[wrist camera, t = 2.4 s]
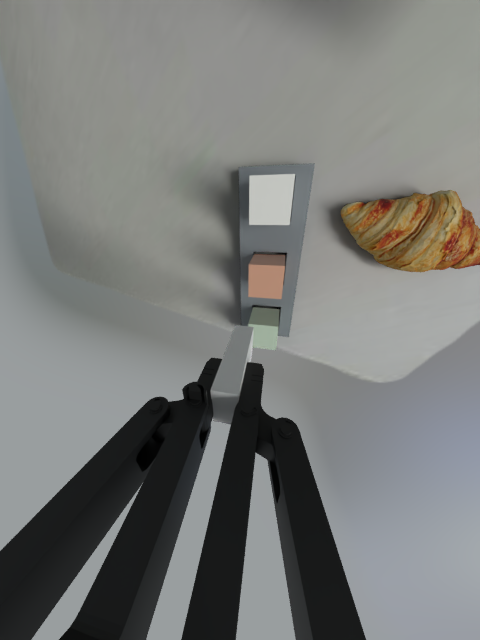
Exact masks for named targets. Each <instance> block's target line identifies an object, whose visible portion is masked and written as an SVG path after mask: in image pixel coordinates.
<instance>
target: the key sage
mask: <svg viewBox="0 0 480 640" xmlns="http://www.w3.org/2000/svg"><path fill="white" fill-rule="evenodd" d="M248 326H249V327H254V329H253V348H262V349H271V350H276V345H277V336H278V326H279V309H271V308H258V307H253V309H252V313H251V316H250V320H249V323H248Z"/></svg>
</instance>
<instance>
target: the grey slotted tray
mask: <svg viewBox="0 0 480 640" xmlns="http://www.w3.org/2000/svg"><path fill="white" fill-rule="evenodd" d="M314 165H315V163H312V164H291V165H269V166H248V167H239V218H240V283H241V326H248V323H249V320H250V316H251V313H252V309H253V306H254V305H261V306H274V307H281V310H280V319H279V326H278V336H285V337H289V332H290V326H291V319H292V312H293V306H294V299H295V292H296V286H297V279H298V272H299V266H300V259H301V252H302V246H303V239H304V232H305V226H306V219H307V212H308V206H309V199H310V192H311V185H312V179H313V172H314ZM277 174H295V183H294V192H293V201H292V210H291V219H290V225H249V176H251V175H277ZM255 252H284V253H287V255H286V264H285V274H284V281H283V290H282V299H271V298H257V297H248V289H249V263H250V261H251V259H252V257H253V256H254V254H255Z"/></svg>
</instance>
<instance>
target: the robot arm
mask: <svg viewBox="0 0 480 640" xmlns="http://www.w3.org/2000/svg"><path fill="white" fill-rule="evenodd" d="M253 329H254V327H249V326H240V325H235V327H234V330H233V332H232V335H231V338H230V340H229V343H228V346H227V348H226V351H225V353H224V356H223V359H218V358H211V359H210V360H209V361H207V363H206V365H205V367H204V369H203V371H202V374H201V375H200V377H199V379H198V381H197V382H192V383H189V384H187V385H186V386H185V387H184V388H183V395H184V399H183V400H179V401H172V402H168V400H167V399H166V398H164V397H155V398H153V399H151V400H149V401H148V402H147V403H146V404H145V405H144V406H143V407H142V408H141V409H140V410H139V411H138V412H137V413H136V414H135V415H134V416H133V417H132V418H131V419H130V420H129V421H128V422H127V423H126V424H125V425H124V426H123V427H122V428H121V429H120V430H119V431H118V432H117V433H116V434H115V435H114V436H113V437H112V438H111V439H110V440H109V441H108V442H107V443H106V444H105V445H104V446H103V447H102V448H101V449H100V450H99V452H98V453H96V455H94V457H93V458H92V459H91V460H90V461H89V462H88V463H87V464H86V465H85V466H84V467H83V468H82V469H81V470H80V471H79V472H78V473H77V474H76V475H75V476H74V477H73V478H72V479H71V480H70V481H69V482H68V483H67V484H66V485H65V486H64V487H63V488H62V489H61V490H60V491H59V492H58V493H57V494H56V495H55V496H54V497H53V498H52V499H51V500H50V501H49V502H48V503H47V504H46V505H45V506H44V507H43V508H42V509H41V510H40V511H39V512H38V513H37V514H36V515H35V516H34V517H33V518H32V520H31V521H30V522H29V523H28V524H27V525H26V526H25V527H24V528H23V529H22V530H21V531H20V532H19V533H18V534H17V535H16V536H15V537H14V538H13V539H12V540H11V541H10V542H9V543H8V544H7V545H6V546H5V547H4V548H3V549H2V550H1V551H0V640H31V639H32V638H33V636H34V635H35V633H36V632H37V631H38V629H39V628H40V626H41V625H42V623H43V622H44V621H45V619H46V618H47V617H48V615H49V614H50V612H51V611H52V609H53V608H54V607H55V605H56V604H57V603H58V601H59V600H60V598H61V597H62V595H63V594H64V593H65V591H66V590H67V588H68V587H69V586H70V584H71V583H72V581H73V580H74V579H75V577H76V576H77V574H78V573H79V572H80V570H81V569H82V567H83V566H84V565H85V563H86V562H87V560H88V559H89V558H90V556H91V555H92V553H93V552H94V551H95V549H96V548H97V546H98V545H99V543H100V542H101V541H102V539H103V538H104V537H105V535H106V534H107V532H108V531H109V530H110V528H111V527H112V525H113V524H114V522H115V521H116V519H117V518H118V517H119V515H120V514H121V513H122V511H123V510H124V508H125V507H126V506H127V504H128V503H129V501H130V500H131V499H132V497H133V496H134V494H135V493H136V492H137V490H138V489H139V487H140V486H141V485H142V486H141V488H140V490H139V492H138V494H137V496H136V498H135V500H134V503H133V504H132V506H131V508H130V510H129V513H128V514H127V516H126V519H125V521H124V523H123V525H122V527H121V529H120V531H119V533H118V535H117V537H116V539H115V541H114V543H113V545H112V547H111V549H110V551H109V553H108V555H107V557H106V559H105V561H104V563H103V565H102V567H101V569H100V571H99V573H98V575H97V577H96V579H95V582H94V583H93V585H92V587H91V589H90V591H89V593H88V595H87V597H86V599H85V601H84V603H83V606H82V607H81V610H80V612H79V613H78V615H77V617H76V619H75V620H74V622H73V623H72V625H71V627H70V628H69V629H68V630H67V631H66V632H65V633H64V635H63V636H62V637H61V638H60V639H59V640H146V638H147V634H148V631H149V627H150V624H151V621H152V618H153V615H154V611H155V608H156V605H157V601H158V598H159V595H160V592H161V589H162V586H163V582H164V579H165V576H166V573H167V569H168V566H169V563H170V560H171V557H172V553H173V550H174V547H175V544H176V540H177V537H178V534H179V531H180V527H181V524H182V521H183V518H184V515H185V511H186V508H187V505H188V502H189V499H190V495H191V492H192V489H193V486H194V482H195V479H196V476H197V473H198V469H199V466H200V463H201V460H202V456H203V453H204V450H205V447H206V444H207V440H208V437H209V434H210V430H211V421H212V418H213V421H216V422H222V423H227V424H231V427H230V431H229V436H228V440H227V444H226V449H225V453H224V458H223V462H222V466H221V470H220V475H219V479H218V483H217V488H216V492H215V496H214V501H213V505H212V509H211V514H210V518H209V522H208V527H207V531H206V535H205V540H204V544H203V548H202V553H201V557H200V561H199V566H198V570H197V574H196V578H195V583H194V587H193V592H192V596H191V600H190V604H189V609H188V613H187V617H186V622H185V626H184V631H183V635H182V639H181V640H236V632H237V622H238V612H239V603H240V593H241V584H242V574H243V565H244V556H245V546H246V537H247V528H248V518H249V508H250V499H251V490H252V480H253V470H254V462H255V452H256V453H258V454H259V455H261V456H262V457H264V458H266V459H267V460H268V466H269V472H270V479H271V485H272V492H273V497H274V504H275V511H276V517H277V523H278V529H279V536H280V541H281V549H282V554H283V561H284V567H285V574H286V580H287V587H288V592H289V599H290V606H291V611H292V617H293V624H294V630H295V637H296V640H366V638H365V635H364V632H363V629H362V626H361V622H360V619H359V616H358V613H357V610H356V607H355V604H354V601H353V597H352V594H351V591H350V588H349V585H348V582H347V579H346V575H345V572H344V569H343V566H342V563H341V560H340V557H339V554H338V551H337V547H336V544H335V541H334V538H333V535H332V532H331V529H330V525H329V522H328V519H327V516H326V513H325V510H324V507H323V504H322V500H321V497H320V494H319V491H318V488H317V485H316V482H315V479H314V475H313V472H312V469H311V466H310V463H309V460H308V457H307V453H306V450H305V447H304V444H303V441H302V438H301V435H300V431H299V429H298V427H297V425H296V424H295V423H294V422H293V421H292V420H290V419H288V418H278V419H275V418H273V417H271V416H269V415H268V414H266V413H265V412H264V411H263V409H262V407H261V393H262V384H263V375H264V369H263V366H262V364H258V363H251V357H252V347H253ZM142 483H143V484H142Z"/></svg>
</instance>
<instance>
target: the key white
mask: <svg viewBox="0 0 480 640" xmlns="http://www.w3.org/2000/svg"><path fill="white" fill-rule="evenodd" d="M294 181H295V174H277V175H251V176H249V225H290V217H291V208H292V199H293V190H294Z"/></svg>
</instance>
